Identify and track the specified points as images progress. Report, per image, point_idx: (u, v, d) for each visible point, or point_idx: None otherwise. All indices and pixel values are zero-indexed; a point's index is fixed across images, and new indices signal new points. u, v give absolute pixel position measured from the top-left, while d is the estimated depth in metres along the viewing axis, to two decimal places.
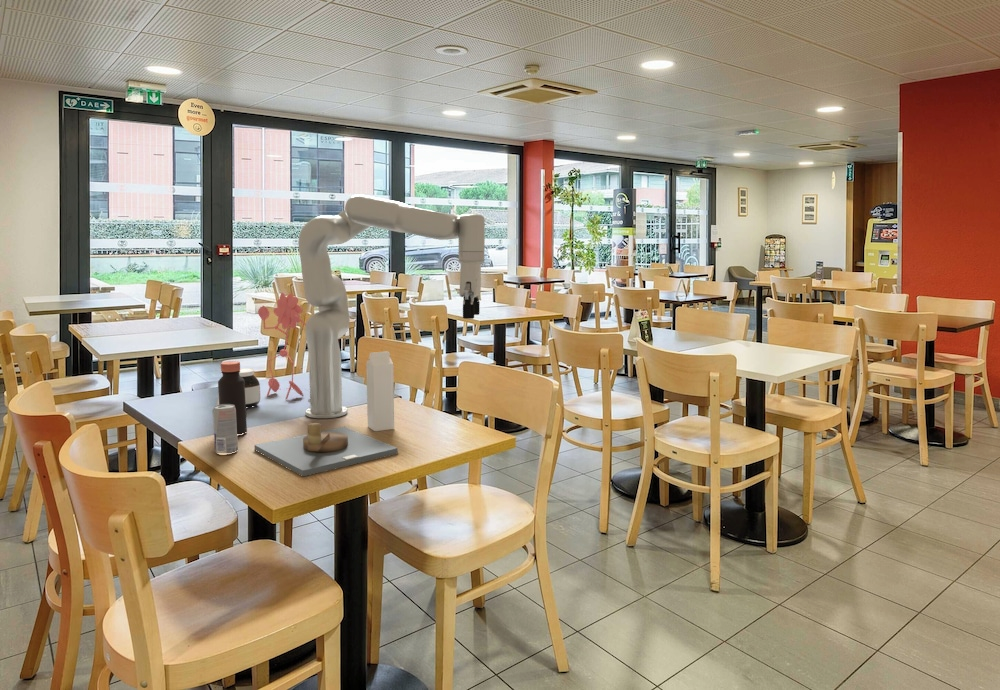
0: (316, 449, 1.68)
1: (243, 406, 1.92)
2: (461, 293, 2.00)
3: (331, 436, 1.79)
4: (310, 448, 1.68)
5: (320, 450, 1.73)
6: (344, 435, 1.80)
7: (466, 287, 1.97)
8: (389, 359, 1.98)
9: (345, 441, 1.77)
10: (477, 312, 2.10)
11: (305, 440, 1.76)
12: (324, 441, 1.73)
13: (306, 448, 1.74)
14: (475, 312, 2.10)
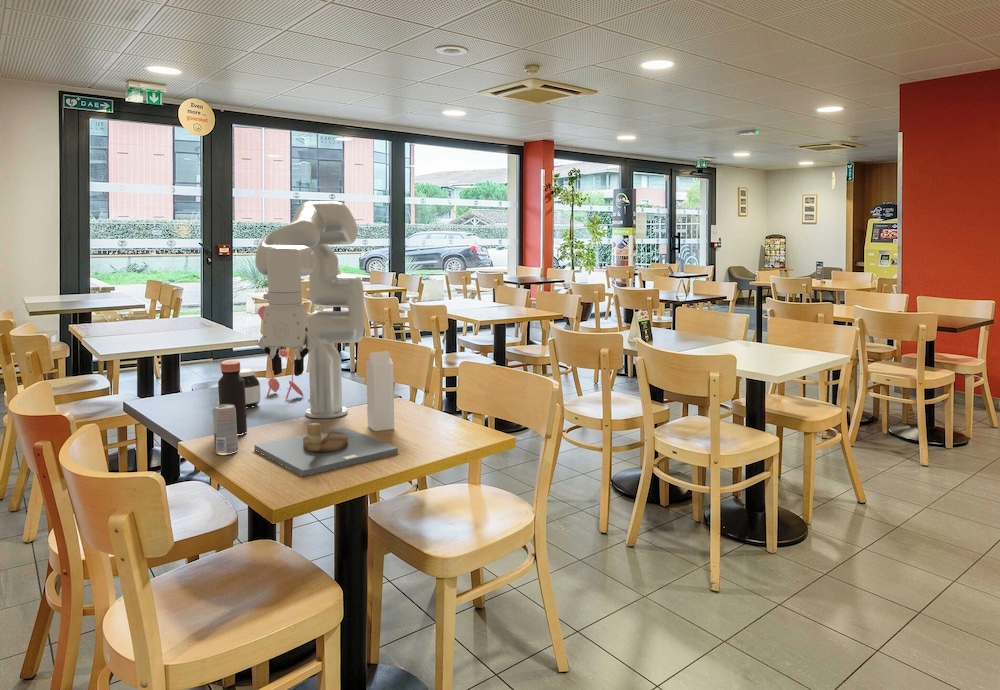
0: (316, 449, 1.68)
1: (243, 406, 1.92)
2: (303, 342, 1.66)
3: (331, 436, 1.79)
4: (310, 448, 1.68)
5: (320, 450, 1.73)
6: (344, 435, 1.80)
7: (311, 340, 1.67)
8: (389, 359, 1.98)
9: (345, 441, 1.77)
10: (281, 370, 1.71)
11: (305, 440, 1.76)
12: (324, 441, 1.73)
13: (306, 448, 1.74)
14: (280, 371, 1.70)
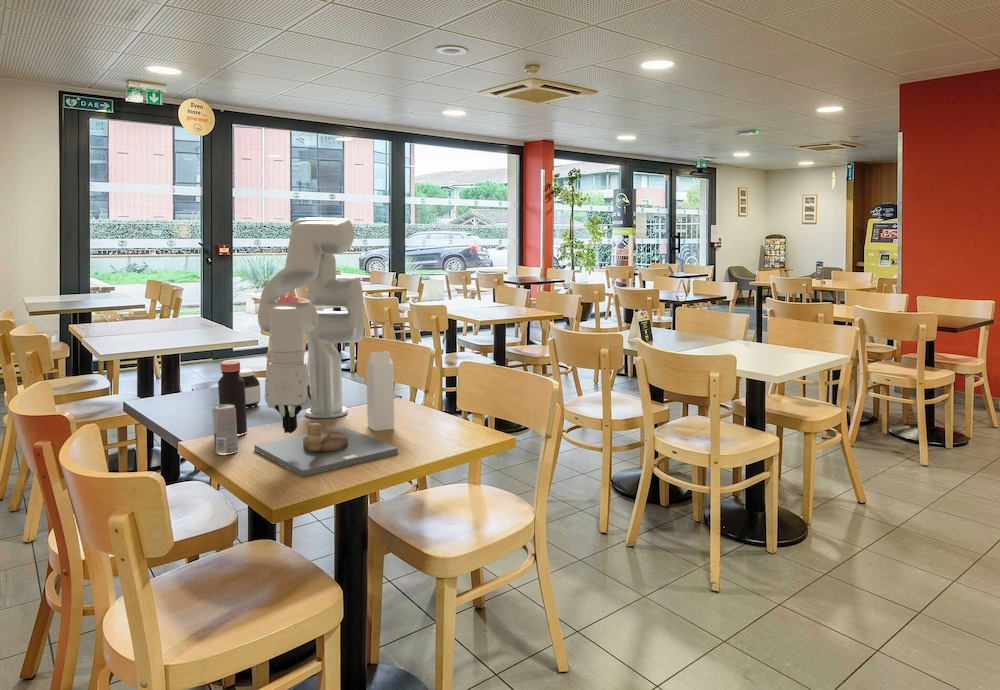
0: (316, 449, 1.68)
1: (243, 406, 1.92)
2: (305, 400, 1.68)
3: (331, 436, 1.79)
4: (310, 448, 1.68)
5: (320, 450, 1.73)
6: (344, 435, 1.80)
7: (308, 401, 1.70)
8: (389, 359, 1.98)
9: (345, 441, 1.77)
10: None
11: (305, 440, 1.76)
12: (324, 441, 1.73)
13: (306, 448, 1.74)
14: None
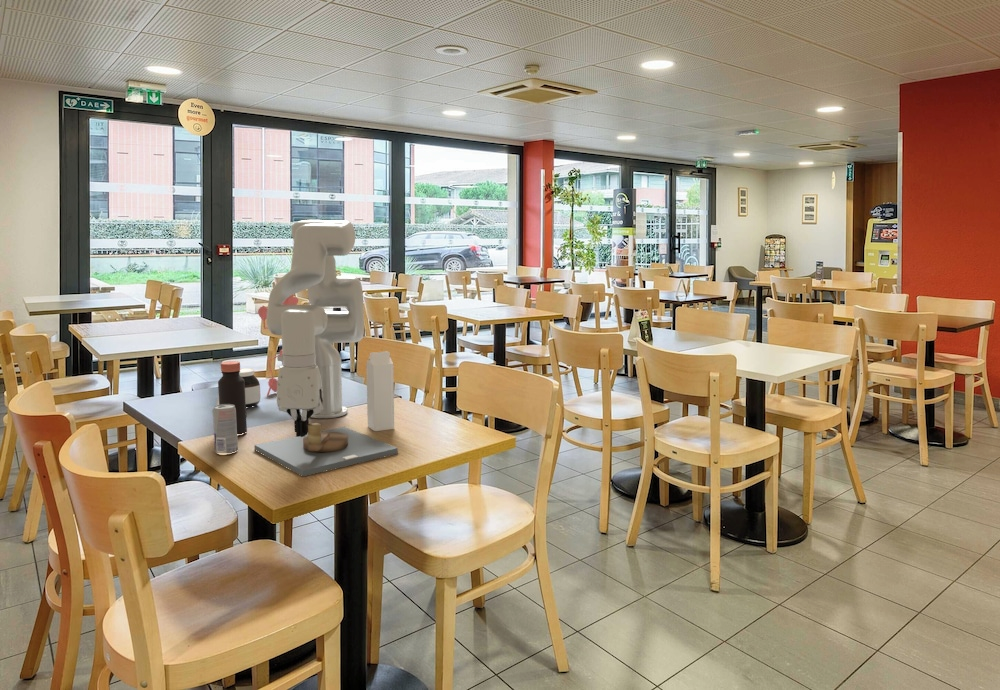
0: (316, 449, 1.68)
1: (243, 406, 1.92)
2: (317, 404, 1.66)
3: (331, 436, 1.79)
4: (310, 448, 1.68)
5: (320, 450, 1.73)
6: (344, 435, 1.80)
7: (320, 404, 1.68)
8: (389, 359, 1.98)
9: (345, 441, 1.77)
10: None
11: (305, 440, 1.76)
12: (324, 441, 1.73)
13: (306, 448, 1.74)
14: None
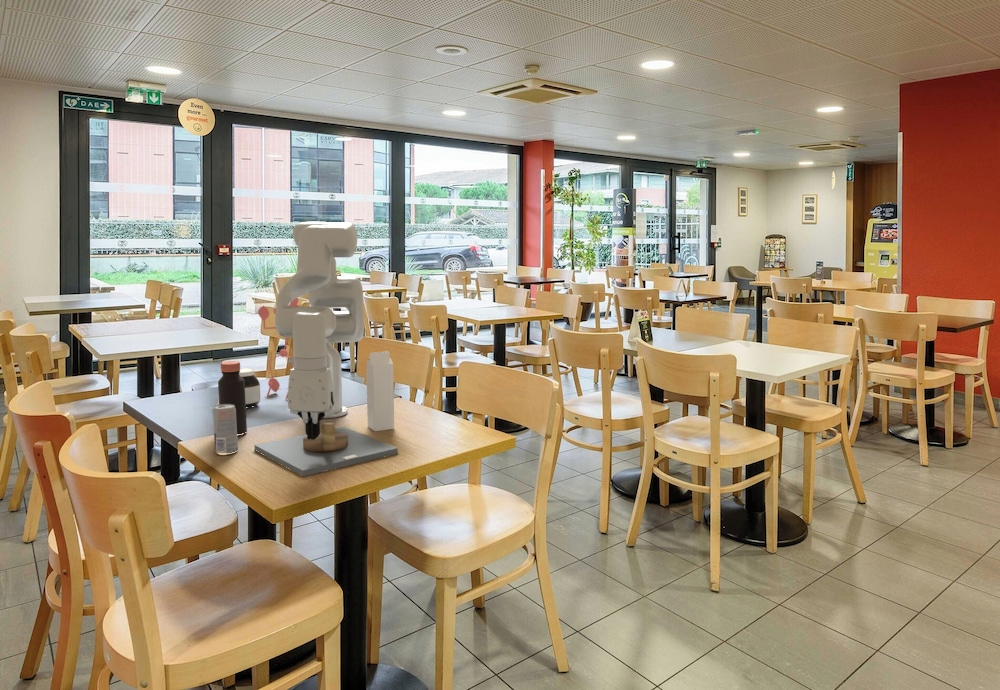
0: (333, 448, 1.68)
1: (243, 406, 1.92)
2: (328, 407, 1.65)
3: None
4: (327, 448, 1.68)
5: (329, 450, 1.73)
6: (341, 433, 1.82)
7: (331, 407, 1.67)
8: (389, 359, 1.98)
9: (347, 439, 1.79)
10: None
11: (308, 442, 1.74)
12: None
13: (312, 449, 1.73)
14: None
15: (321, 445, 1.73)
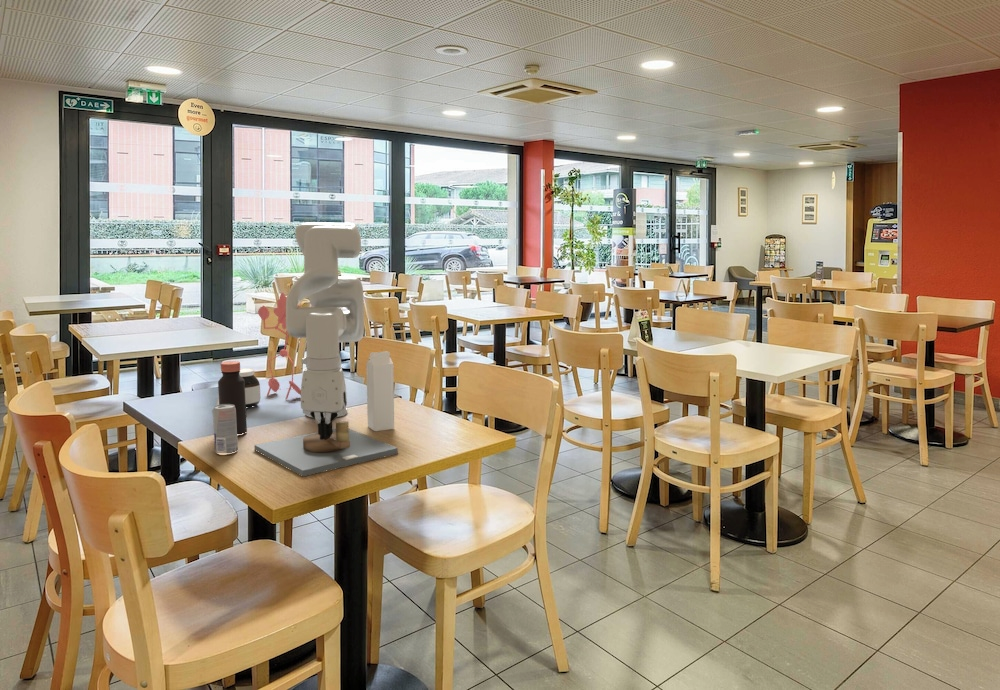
0: (348, 445, 1.71)
1: (243, 406, 1.92)
2: (341, 407, 1.66)
3: None
4: (343, 446, 1.70)
5: (337, 448, 1.74)
6: (335, 432, 1.83)
7: (344, 407, 1.68)
8: (389, 359, 1.98)
9: None
10: None
11: (313, 443, 1.73)
12: None
13: (319, 450, 1.73)
14: None
15: (330, 444, 1.73)
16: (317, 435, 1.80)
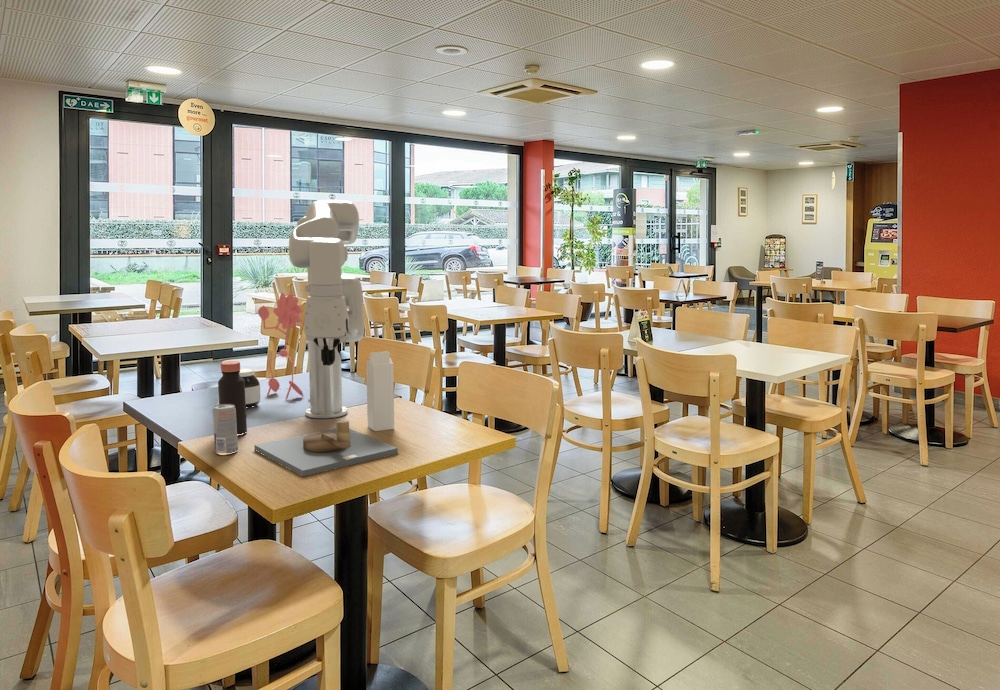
0: (349, 445, 1.71)
1: (243, 406, 1.92)
2: (343, 333, 1.71)
3: None
4: (344, 445, 1.70)
5: (337, 448, 1.74)
6: (335, 432, 1.83)
7: (346, 334, 1.73)
8: (389, 359, 1.98)
9: None
10: None
11: (314, 443, 1.73)
12: None
13: (320, 450, 1.73)
14: None
15: (330, 444, 1.73)
16: (317, 435, 1.80)
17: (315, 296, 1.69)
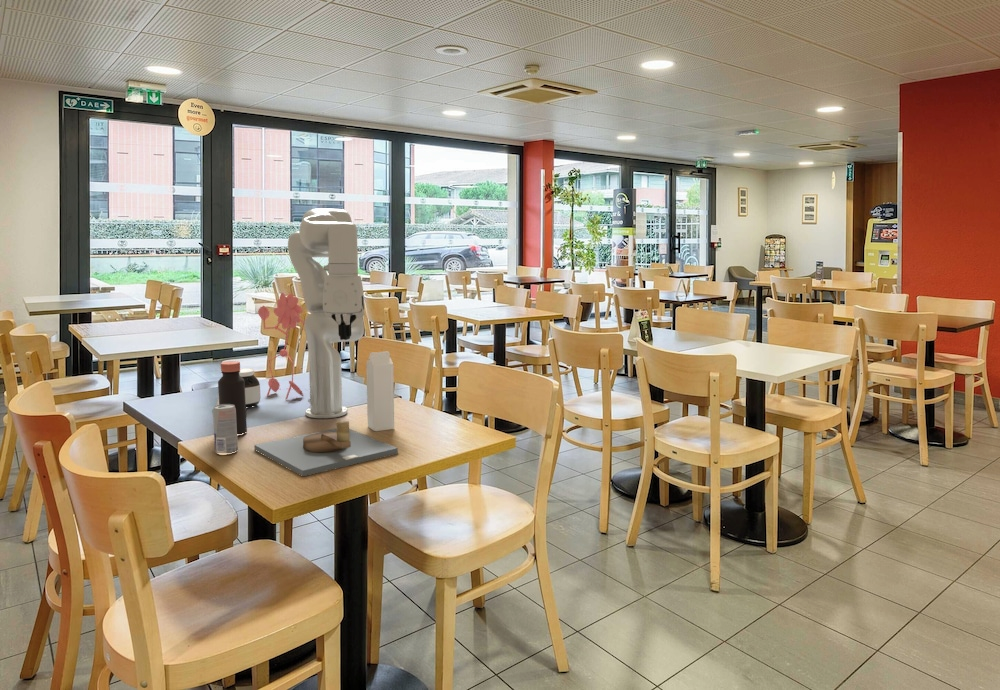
0: (349, 445, 1.71)
1: (243, 406, 1.92)
2: (360, 309, 1.84)
3: None
4: (344, 445, 1.70)
5: (337, 448, 1.74)
6: (335, 432, 1.83)
7: (362, 310, 1.85)
8: (389, 359, 1.98)
9: None
10: None
11: (314, 443, 1.73)
12: None
13: (320, 450, 1.73)
14: None
15: (330, 444, 1.73)
16: (317, 435, 1.80)
17: (333, 274, 1.82)
